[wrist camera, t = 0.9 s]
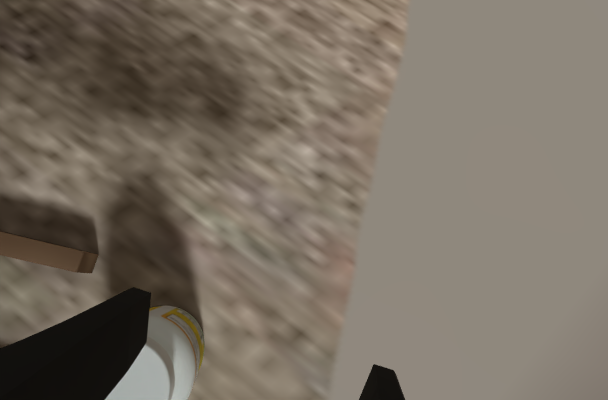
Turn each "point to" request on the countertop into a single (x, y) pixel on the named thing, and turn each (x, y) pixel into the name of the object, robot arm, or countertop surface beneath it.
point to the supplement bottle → (164, 359)
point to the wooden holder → (46, 253)
